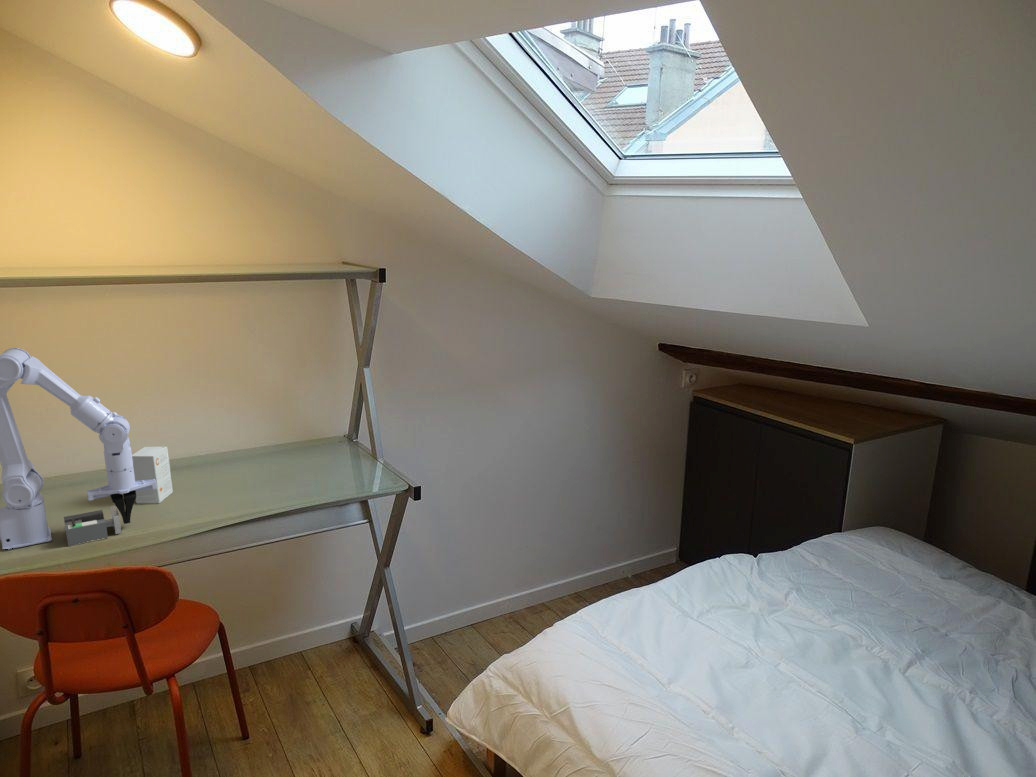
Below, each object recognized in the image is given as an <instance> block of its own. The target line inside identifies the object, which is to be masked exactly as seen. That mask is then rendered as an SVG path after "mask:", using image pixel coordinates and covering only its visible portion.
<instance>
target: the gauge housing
mask: <svg viewBox="0 0 1036 777" xmlns="http://www.w3.org/2000/svg"><path fill="white" fill-rule="evenodd" d="M71 519H74V520H78V519H82V523H76V524H75V526H73V524H72V525H68V526H65V525H64V528H65V527H66V531H65V535H66V534H67V537H66V540H67V546H69V547H72V546H71V545H74V546H76V545H75V544H78V545H80V544H79V543H83V542H87V541H91V540H97V539H102V538H107V537H108V538H109V536H108V527H106V521H105V520H106V518H105V517H104V512H103V509H100V510H99V509H98V510H93V511H89V512H83V513H78V514H72V515H68V516H67V515H66V516H63V521H64V522H68V521H71ZM83 544H84V543H83Z"/></svg>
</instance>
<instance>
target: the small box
mask: <svg viewBox="0 0 1036 777" xmlns="http://www.w3.org/2000/svg"><path fill="white" fill-rule="evenodd" d="M168 448H169V447H168V446H144V447H142V448H141V449H138V450H137V451H136V452H135V453H132V459H133V468H134V476H135V481H139V480H151V479H155V480H156V485H157V489H147V490H141V491H136V495H137V497H136V500H135V503H136V504H138V505H139V504H161V502H163V501H164V500H165V499H166V498H167V497H169V496H170V495H171V494H173V492H174V491H173V482H172V475H171V466H170V457H169V450H168Z"/></svg>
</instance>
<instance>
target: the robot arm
mask: <svg viewBox="0 0 1036 777" xmlns="http://www.w3.org/2000/svg"><path fill="white" fill-rule="evenodd" d="M19 379H21V381H20V385H36V386H39V387H40V388H42V389H43V390H45V391H46V392H48V393H49V394H50V395H52V396H54V397H55V398H56V399H58V400H60V401H62V403H64V404H66V405H67V406H69V409H70V415H72V417H74V418H75V419H77V420H78V421H79V422H81V423H82V424H83V425H84V426H86V427H88V428H89V429H90V430H91V431H93V432H94V433H97V434H98V438H99V440H100V442H101V443H102V444H103V450H104V451H103V455H104V463H105V471H106V479H107V485H104V486H101V487H97V488H92V489H89V490H86V492H87V499H88V500H87V501H94V500H95V499H101V498H107V497H110V498H111V499H110V500H111V501H112V503H113V504H114V506H116V508H117V510H118V513H120V515H121V517H122V522H123V524H124V525H125V524H130V523H131V517H132V516H131V515H132V510H133V507H134V505H135V503H136V497H137V495H136V491H141V490H147V489H157V485H156V480H155V479H151V480H139V481H135V476H134V468H133V459H132V455H133V452H132V447H131V441H130V437H129V433H130V431H131V426H130V423H129V421H128V419H126V417H125V416H123V415H119V414H118V413H117V412H115V411H113V412H112V411H111V410H110V409H108V408H107V407H106V406H105V405H103V404H102V403H101V398H99V397H97V396H95V397H93V396H92V395H88V394H87V395H82V394H80V393H78V392H77V391H76V390H75V389H74V388H73V387H71V386H70V385H69V384H68V383H67V382H65V381H64V380H63V379H61V378H60V377H59V376H58V375H57V374H55V373H54V372H53V371H52V370H51V369H50V368H49V367H47V366H46V365H45V364H44V363H43V362H42V361H41V360H40V359H39V358H38V357H35V356H31V355H30V353H29V352H28V351H26V350H25V349H23V348H18V347H11V348H8V349H6V350H4V351H3V352H2V353H0V465H1V471H2V472H1V482H2V486H3V487H2V492H1V499H2V501H3V502H4V503H5V505H4V506H1V507H0V543H1V546H2V548H1V549H2V550H3V549H8V550H13V549H18V548H23V547H27V546H28V547H29V546H32V545H34V546H35V545H38V544H43V543H44V544H45V543H48V542H49V543H50V542H51V541H53V540H52V530H51V527H49V525H48V519H47V517H48V516H47V512H46V511H47V510H46V507H45V499H44V496H43V495H42V494H41V492H40V491H41V490H42V488H43V486H44V478H43V476H42V475H41V474H40V473H39V472H38V471H37V470H36V468H35V466H34V463H33V462H32V461H30V459H29V458H28V456H27V455H28V454H27V453H26V450H25V447H24V444H23V440H22V437H21V433H20V431H19V429H18V428H19V427H18V425H17V423H16V420H15V417H14V413H13V410H12V406H11V403H10V402H9V398H8V395H7V393H8V392H9V391H10V389H11V388H12V387H13V385H15V383H16V382H17V381H18V380H19ZM12 548H13V549H12Z"/></svg>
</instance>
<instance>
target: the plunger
mask: <svg viewBox="0 0 1036 777" xmlns="http://www.w3.org/2000/svg"><path fill="white" fill-rule="evenodd" d="M109 507H110V508H109V509H110V516H111V518H110V519H105V521H106V527H107V528H109V527H112V528H113V530H114V533H115V535H117V534H118V535H119V534H121V533H122V529H121V528H122V526H121V519H120V514H119V513H120V512H119V510H118V508H117V507H116V505H111V506H109ZM76 523H82V519H78V520H74V519H71V521H68V522H64V523H63V524H64V531H65V532H66V527H65V526H68V525H72V524H73V526H75V524H76ZM65 536H66V538H67V534H66V533H65Z"/></svg>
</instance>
